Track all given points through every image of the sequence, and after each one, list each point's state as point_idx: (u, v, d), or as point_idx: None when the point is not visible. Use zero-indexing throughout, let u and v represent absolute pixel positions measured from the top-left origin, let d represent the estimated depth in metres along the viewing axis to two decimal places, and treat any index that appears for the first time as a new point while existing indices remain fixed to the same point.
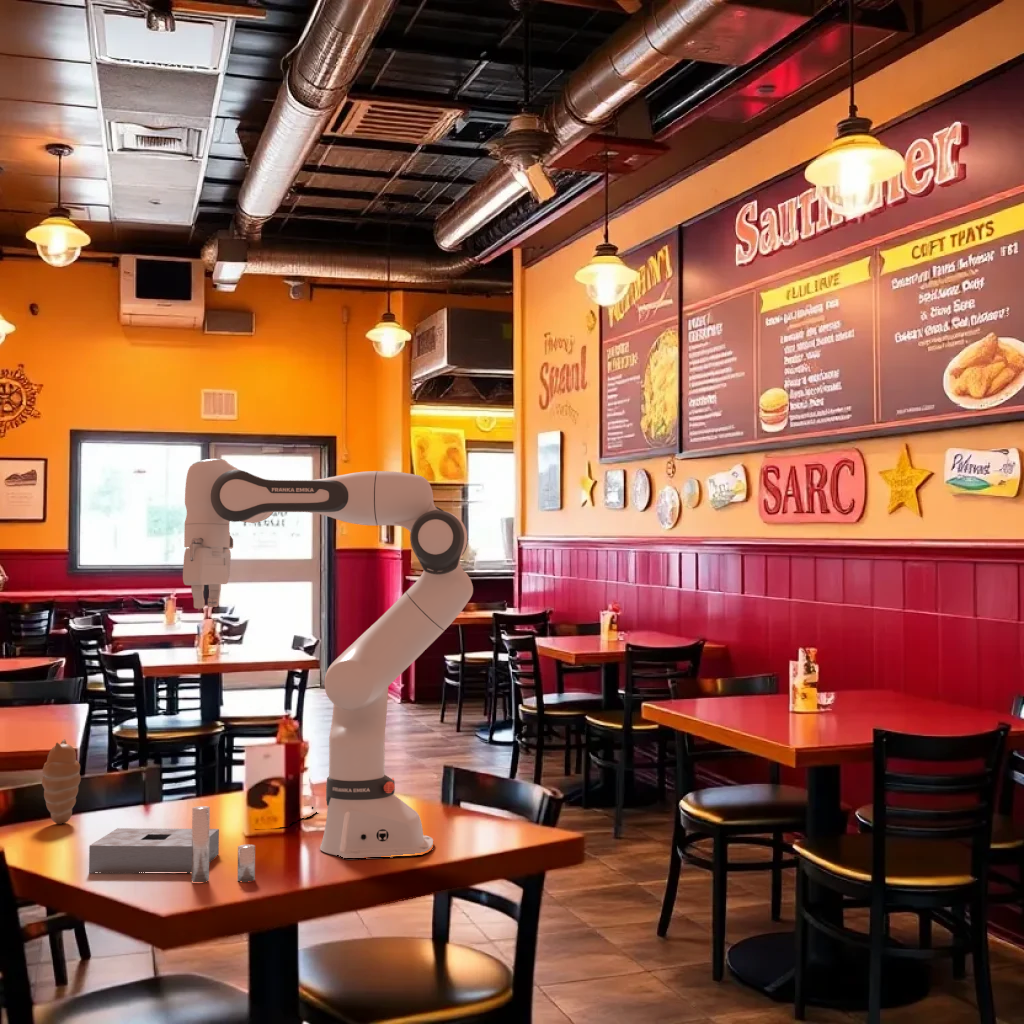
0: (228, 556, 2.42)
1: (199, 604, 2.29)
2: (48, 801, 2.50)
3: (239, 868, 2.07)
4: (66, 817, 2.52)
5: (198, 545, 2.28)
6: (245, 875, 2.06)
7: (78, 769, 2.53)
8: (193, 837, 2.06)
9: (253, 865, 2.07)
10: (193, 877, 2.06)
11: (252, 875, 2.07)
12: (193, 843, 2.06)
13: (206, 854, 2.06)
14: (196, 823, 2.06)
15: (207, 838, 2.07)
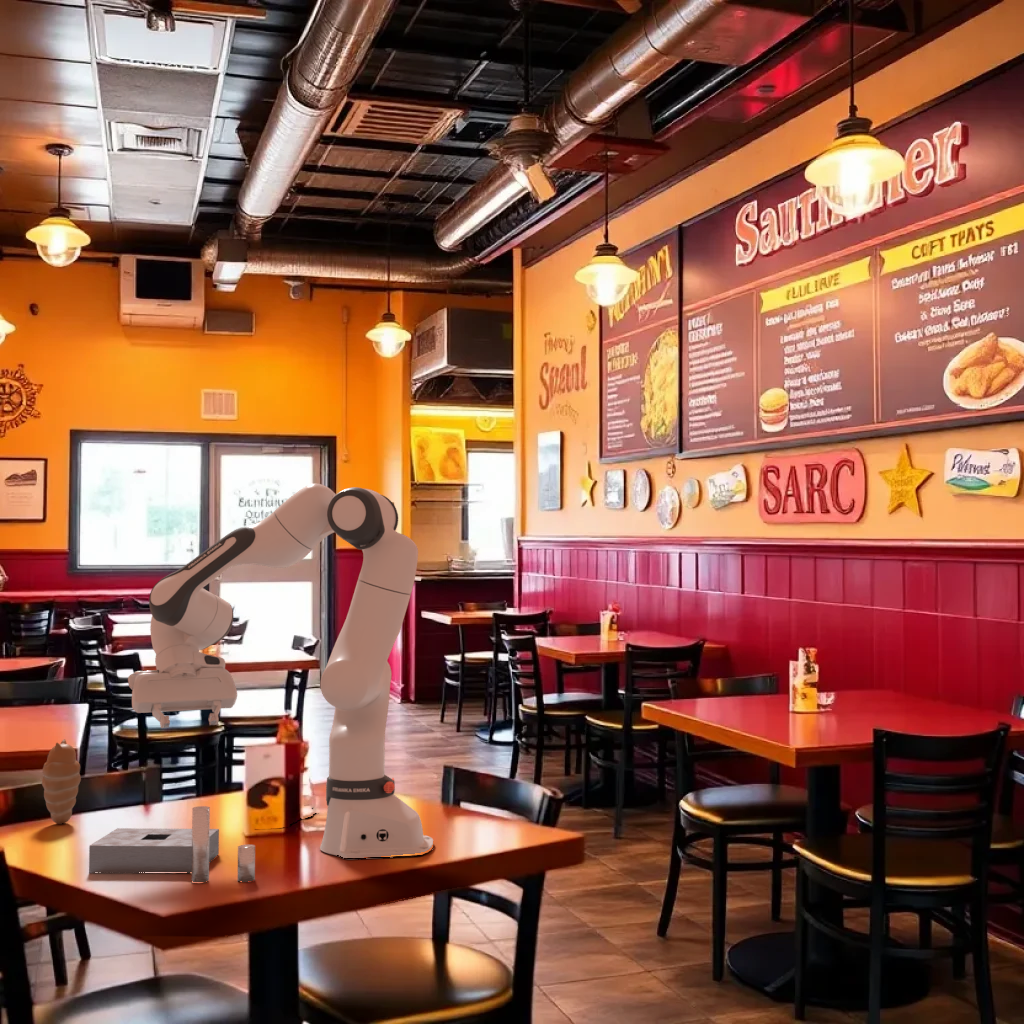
0: (223, 674, 2.36)
1: (161, 722, 2.24)
2: (48, 801, 2.50)
3: (239, 868, 2.07)
4: (66, 817, 2.52)
5: None
6: (245, 875, 2.06)
7: (78, 769, 2.53)
8: (193, 837, 2.06)
9: (253, 865, 2.07)
10: (193, 877, 2.06)
11: (252, 875, 2.07)
12: (193, 843, 2.06)
13: (206, 854, 2.06)
14: (196, 823, 2.06)
15: (207, 838, 2.07)
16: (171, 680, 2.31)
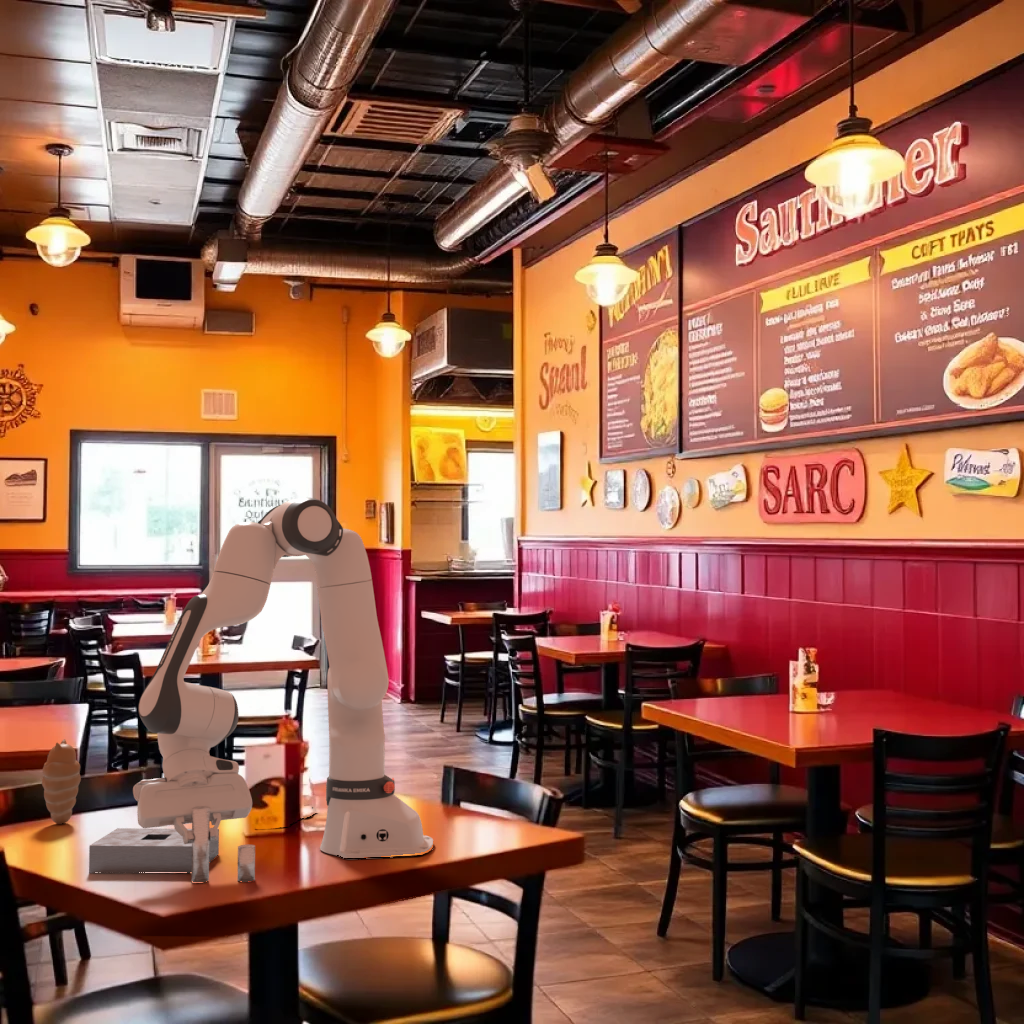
0: (236, 780, 2.16)
1: (184, 837, 2.06)
2: (48, 801, 2.50)
3: (239, 868, 2.07)
4: (66, 817, 2.52)
5: None
6: (245, 875, 2.06)
7: (78, 769, 2.53)
8: None
9: (253, 865, 2.07)
10: (193, 877, 2.06)
11: (252, 875, 2.07)
12: (193, 843, 2.06)
13: (206, 854, 2.06)
14: (196, 823, 2.06)
15: (207, 838, 2.07)
16: (180, 790, 2.11)
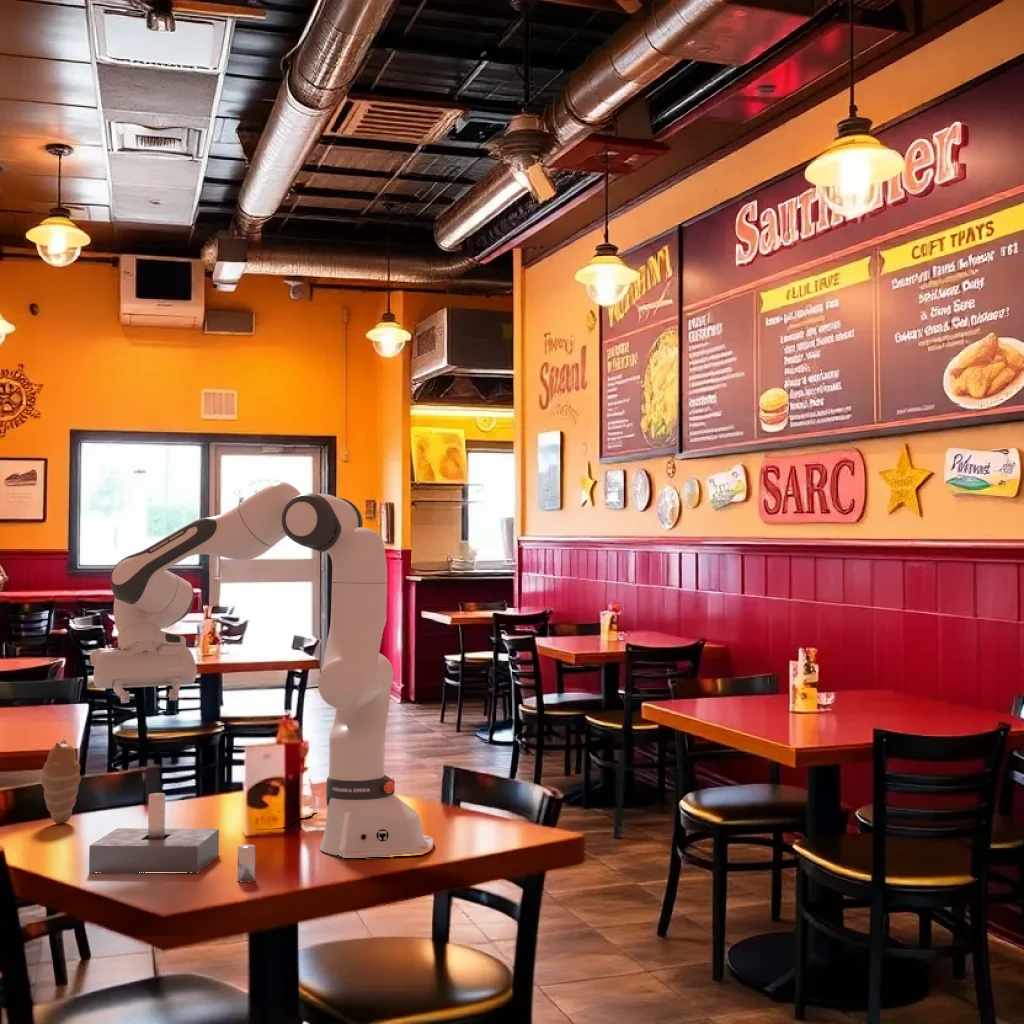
0: (183, 651, 2.42)
1: (121, 697, 2.31)
2: (48, 801, 2.50)
3: (239, 868, 2.07)
4: (66, 817, 2.52)
5: None
6: (245, 875, 2.06)
7: (78, 769, 2.53)
8: (149, 822, 2.18)
9: (253, 865, 2.07)
10: None
11: (252, 875, 2.07)
12: (149, 827, 2.18)
13: (161, 838, 2.19)
14: (152, 809, 2.18)
15: (162, 823, 2.19)
16: (132, 657, 2.37)
